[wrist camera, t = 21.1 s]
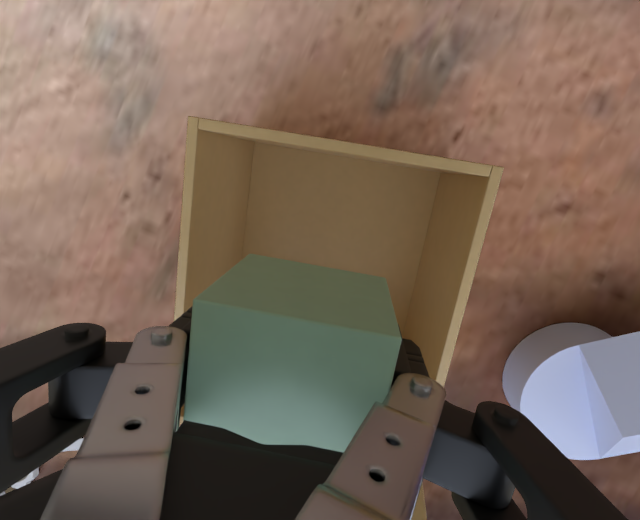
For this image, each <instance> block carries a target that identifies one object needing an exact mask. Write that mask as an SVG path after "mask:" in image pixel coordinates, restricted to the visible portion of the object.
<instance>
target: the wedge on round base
mask: <svg viewBox="0 0 640 520" xmlns="http://www.w3.org/2000/svg"><path fill="white" fill-rule="evenodd" d="M502 382H503V390H504V394H505V396H506V399H507V401H508V402H509V404H510V406H511V407H512V408H514V409H516V410H517V411H519V412H521V413H522V414H523V415H525V416H526V417H527V418H528V419H529V420H530V421H531V422H532V423H533V424H534V425H535V426H536V427H537V428H538V429H539V430H540V431H541V432H542V433H543V434H544V435H545V436H546V437H547V438H548V439H549V440H550V441H551V442H552V443H553V444H554V445H555V446H556V447H557V448H558V449H559V450H560V451H561V452H562V453H563V454H564V455H565V456H566V457H567V458H569V459H576V460H594V459H601V458H607V457H612V456H618V455H623V454H629V453H634V452H640V331H638V332H634V333H630V334H625V335H621V336H616V337H612V336H610V335H609V334H607V333H606V332H604V331H603V330H601V329H599V328H597V327H594V326H591V325H587V324H582V323H559V324H553V325H550V326H547V327H544V328H541V329H539V330H537V331H535V332H533V333H532V334H530V335H528V336H527V337H526V338H524V339H523V340H522V341H521V342H520V343H519V344H518V345H517V346H516V347H515V348H514V350H513V351H512V352H511V354H510V356H509V357H508V359H507V361H506V364H505V367H504V371H503V379H502Z"/></svg>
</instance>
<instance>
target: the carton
mask: <svg viewBox="0 0 640 520" xmlns="http://www.w3.org/2000/svg"><path fill="white" fill-rule="evenodd" d="M503 169H504V168H503V167H500V166H494V165H488V164H481V163H475V162H469V161H463V160H457V159H451V158H445V157H438V156H432V155H426V154H420V153H414V152H408V151H402V150H395V149H389V148H383V147H377V146H371V145H365V144H359V143H352V142H346V141H340V140H334V139H328V138H322V137H316V136H309V135H303V134H297V133H291V132H285V131H279V130H273V129H266V128H260V127H254V126H248V125H242V124H236V123H229V122H223V121H217V120H211V119H205V118H198V117H193V116H188V123H187V138H186V152H185V167H184V181H183V196H182V211H181V225H180V240H179V254H178V269H177V283H176V298H175V312H174V321H175V320H176V319H177V318H179V317H181V315H182V314H183V313H185V312H186V311H187V310H188V309H189V308H190V307H192V306H193V300H194V298H196V297H197V296H198V295H199V294H201V293H202V292H203V291H204V290H205V289H207V288H208V287H209V286H210V285H212V284H213V283H214V282H215V281H216V280H218V279H219V278H220V277H221V276H223V275H224V274H225V273H226V272H228V271H229V270H230V269H231V268H232V267H234V266H235V265H236V264H237V263H239V262H240V261H241V260H242V259H244V258H245V257H246V256H247V255H248V254H256V255H262V256H267V257H273V258H278V259H284V260H289V261H295V262H301V263H306V264H312V265H317V266H323V267H328V268H334V269H340V270H345V271H351V272H356V273H362V274H367V275H373V276H379V277H384V278H386V281H387V285H388V288H389V292H390V296H391V300H392V304H393V308H394V311H395V315H396V319H397V323H398V324H399V328H400V331H401V335H402V338H404V339H409V340H412V341H413V342H414V343H415V344H416V345H417V346H418V347H419V348H420V351H421V353H422V357H423V359H424V363H425V365H426V368H427V371H428V374H429V377H430V378H431V379H433V380H435V381H436V382H438V383H439V384H440V385H441V386H442V387H443V388H444V384H445V380H446V377H447V373H448V370H449V366H450V362H451V359H452V355H453V351H454V348H455V344H456V340H457V337H458V333H459V329H460V326H461V322H462V318H463V315H464V311H465V307H466V304H467V300H468V297H469V293H470V289H471V286H472V282H473V278H474V275H475V271H476V267H477V264H478V260H479V256H480V253H481V249H482V245H483V242H484V238H485V234H486V231H487V227H488V224H489V220H490V216H491V213H492V209H493V205H494V202H495V198H496V194H497V191H498V187H499V183H500V180H501V176H502V172H503ZM184 404H185V403H184ZM184 404H183V406H182V407H181V416H180V423H181V424H182V423H183V416H184Z"/></svg>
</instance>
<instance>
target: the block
mask: <svg viewBox="0 0 640 520" xmlns="http://www.w3.org/2000/svg"><path fill="white" fill-rule="evenodd" d="M401 341H402V339H401V334H400V331H399V327H398V323H397V319H396V315H395V311H394V308H393V304H392V300H391V296H390V292H389V288H388V285H387V281H386V278H384V277H379V276H373V275H367V274H362V273H356V272H351V271H345V270H340V269H334V268H328V267H323V266H317V265H312V264H306V263H301V262H295V261H289V260H284V259H278V258H273V257H267V256H262V255H256V254H248V255H247V256H246V257H245V258H244V259H242V260H241V261H240V262H239V263H237V264H236V265H235V266H234V267H232V268H231V269H230V270H229V271H228V272H226V273H225V274H224V275H223V276H221V277H220V278H219V279H218V280H216V281H215V282H214V283H213V284H212V285H210V286H209V287H208V288H207V289H205V290H204V291H203V292H202V293H201V294H199V295H198V296H197V297H196V298H194V300H193V307H192V319H191V331H190V343H189V355H188V368H187V380H186V392H185V404H184V416H183V421H184V420H186V421H191V422H196V423H201V424H205V425H210V426H215V427H220V428H224V429H227V430H229V431H231V432H234V433H236V434H238V435H241V436H243V437H246V438H248V439H250V440H253V441H255V442H257V443H260V444H266V445H309V446H314V447H318V448H323V449H328V450H333V451H338V452H343V453H344V451H345V449H346V448H347V446H348V445H349V443H350V441H351V440H352V438H353V437H354V435H355V433H356V432H357V430H358V429H359V427H360V425H361V424H362V422H363V420H364V419H365V417H366V416H367V414H368V412H369V411H370V409H371V408H372V406H373V404H374V403H375V402H376V401H377V402H380V403H383V401H384V399H385V397H386V396H387V394H388V392H389V391H390V388H391V384H392V380H393V375H394V371H395V367H396V362H397V358H398V354H399V349H400V345H401Z"/></svg>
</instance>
